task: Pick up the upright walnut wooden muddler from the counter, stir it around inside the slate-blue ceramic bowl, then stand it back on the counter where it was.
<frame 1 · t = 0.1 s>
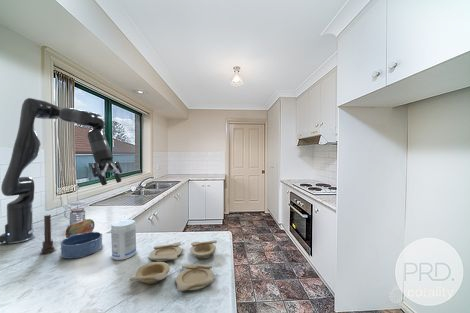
hand: (112, 183, 95), 31 cm above the worktop, tool tilted 20°, fingers open, 8 cm apart
muddler: (47, 251, 93), on the worktop
tin: (80, 236, 110), on the worktop
bowl: (82, 250, 94), on the worktop
supplement tub: (124, 255, 90), on the worktop
tableware set: (179, 266, 81), on the worktop
french press: (76, 225, 128), on the worktop
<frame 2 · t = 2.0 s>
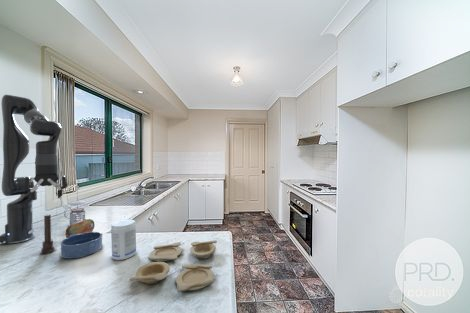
hand: (47, 198, 93), 25 cm above the worktop, tool pointing down, fingers open, 8 cm apart
nothing on the worktop moved.
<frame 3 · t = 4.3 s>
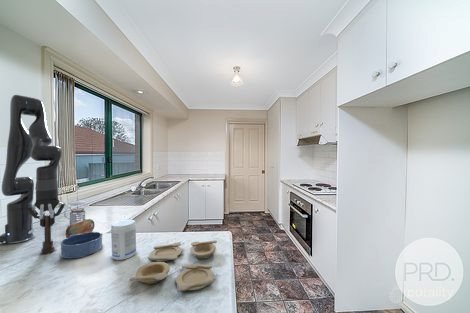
hand: (47, 225, 93), 12 cm above the worktop, tool pointing down, fingers closed on muddler, 2 cm apart
muddler: (47, 251, 93), on the worktop, touching gripper
everything else where it was.
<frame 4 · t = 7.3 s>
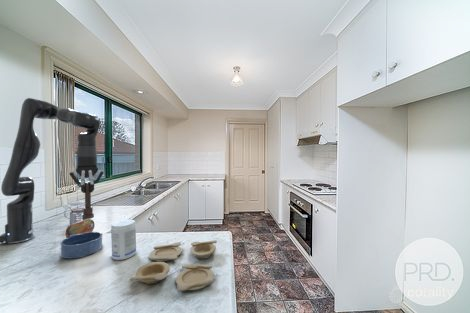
hand: (87, 192, 95), 27 cm above the worktop, tool pointing down, fingers closed on muddler
muddler: (88, 217, 95), point 15 cm above the worktop, touching gripper
everything else where it was.
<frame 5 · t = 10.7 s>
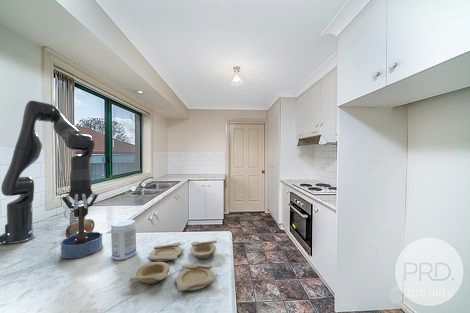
hand: (81, 216, 91), 17 cm above the worktop, tool pointing down, fingers closed on muddler
muddler: (81, 242, 91), point 5 cm above the worktop, touching gripper
everything else where it was.
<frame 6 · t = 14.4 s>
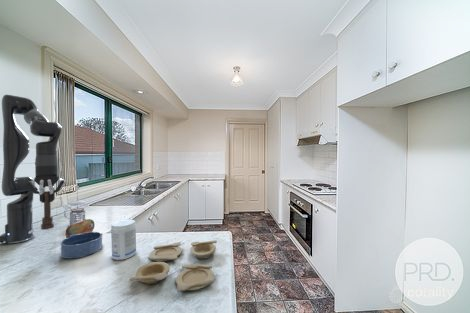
hand: (47, 201, 93), 23 cm above the worktop, tool pointing down, fingers closed on muddler
muddler: (47, 227, 93), point 11 cm above the worktop, touching gripper
everything else where it was.
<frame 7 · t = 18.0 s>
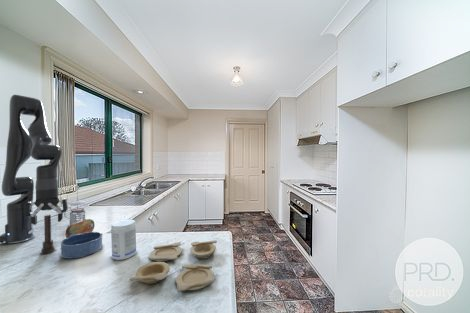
hand: (47, 222, 93), 14 cm above the worktop, tool pointing down, fingers open, 8 cm apart
muddler: (48, 251, 93), on the worktop
everything else where it was.
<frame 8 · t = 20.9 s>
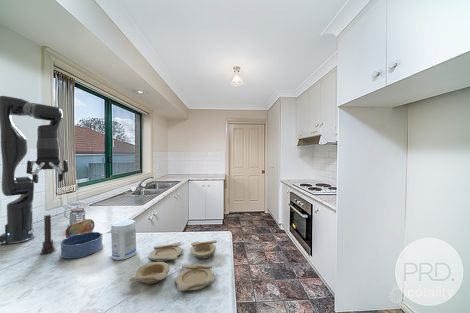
hand: (48, 182, 94), 32 cm above the worktop, tool pointing down, fingers open, 8 cm apart
nothing on the worktop moved.
at the end: muddler inside the target area (0.1 cm from its centre), on the worktop; muddler tilted 0°; the gripper is holding nothing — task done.
